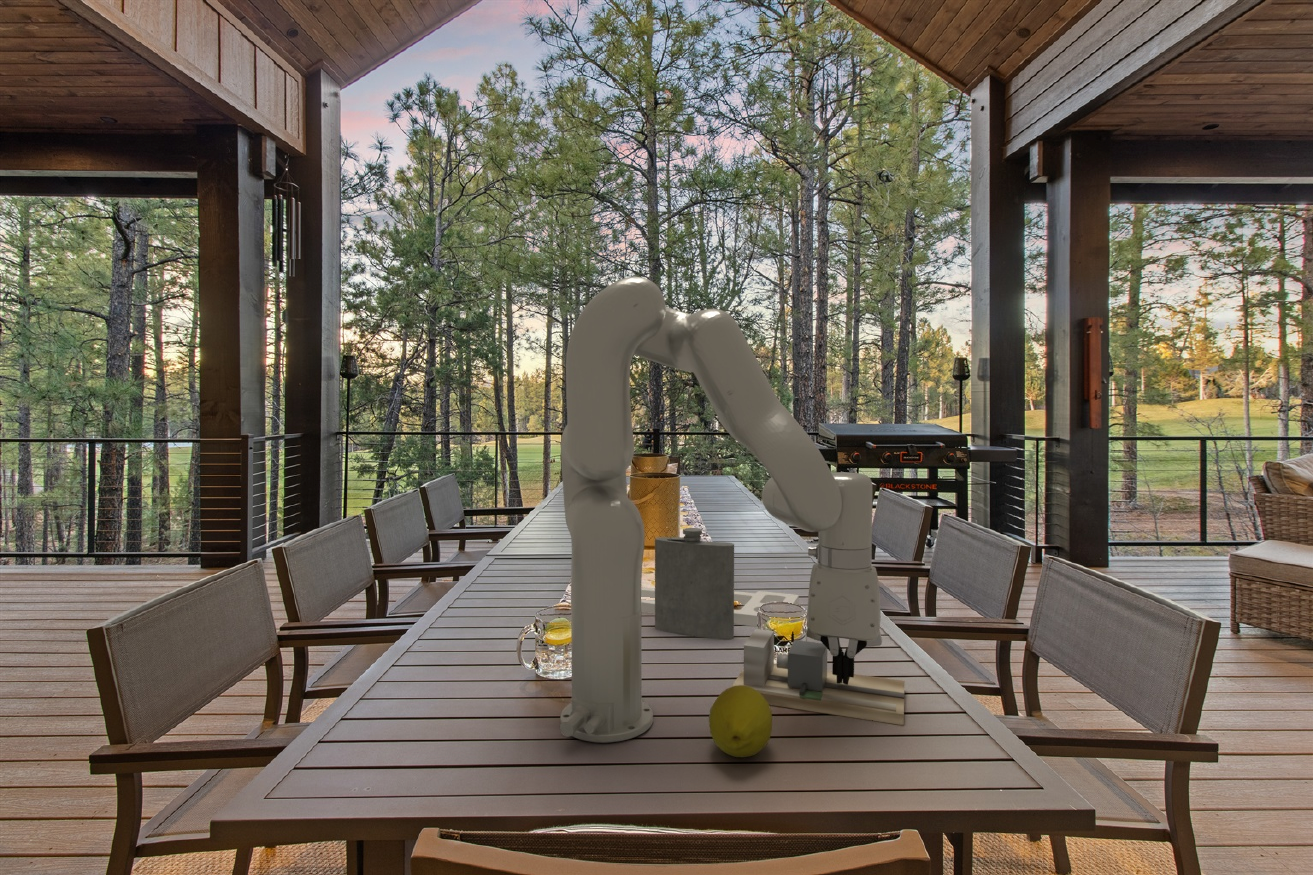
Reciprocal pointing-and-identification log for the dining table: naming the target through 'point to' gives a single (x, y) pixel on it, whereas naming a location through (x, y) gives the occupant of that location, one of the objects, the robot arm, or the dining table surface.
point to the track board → (852, 700)
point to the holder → (748, 599)
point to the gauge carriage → (805, 665)
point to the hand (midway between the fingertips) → (843, 680)
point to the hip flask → (694, 586)
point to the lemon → (740, 721)
